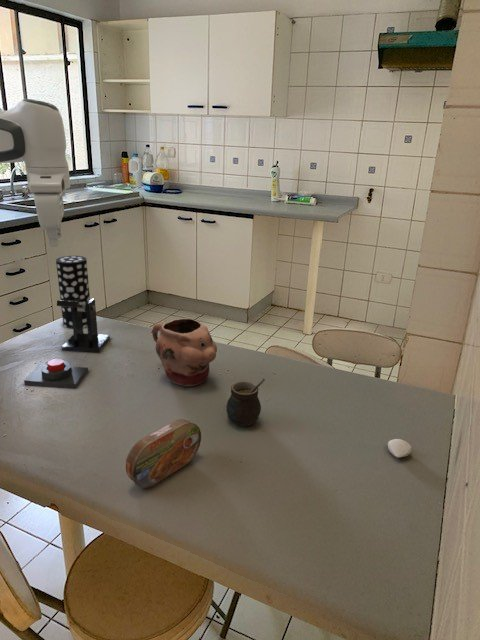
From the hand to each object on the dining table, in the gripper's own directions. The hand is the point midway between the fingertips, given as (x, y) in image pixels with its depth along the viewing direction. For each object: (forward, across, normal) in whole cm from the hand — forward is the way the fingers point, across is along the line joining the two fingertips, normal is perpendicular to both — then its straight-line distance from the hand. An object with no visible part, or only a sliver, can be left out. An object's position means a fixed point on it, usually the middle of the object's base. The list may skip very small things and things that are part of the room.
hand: (56, 241), depth 108 cm
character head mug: (+31, +16, +27) cm, 44 cm away
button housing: (+30, +11, -2) cm, 32 cm away
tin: (+31, +49, +18) cm, 60 cm away
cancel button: (+28, +11, -2) cm, 30 cm away
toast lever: (+19, -3, +3) cm, 19 cm away
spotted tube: (+31, -23, +1) cm, 38 cm away
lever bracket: (+30, -7, +4) cm, 32 cm away
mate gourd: (+31, +37, +36) cm, 60 cm away
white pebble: (+31, +54, +62) cm, 88 cm away
